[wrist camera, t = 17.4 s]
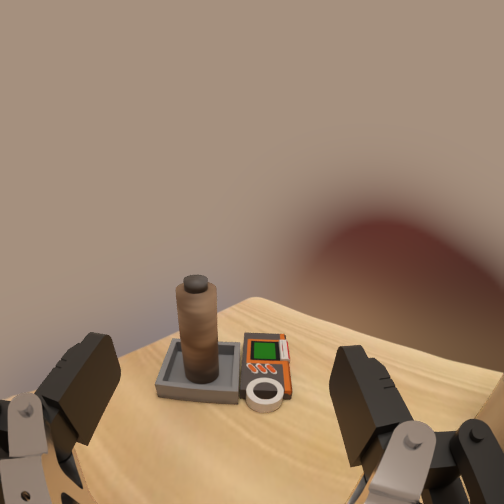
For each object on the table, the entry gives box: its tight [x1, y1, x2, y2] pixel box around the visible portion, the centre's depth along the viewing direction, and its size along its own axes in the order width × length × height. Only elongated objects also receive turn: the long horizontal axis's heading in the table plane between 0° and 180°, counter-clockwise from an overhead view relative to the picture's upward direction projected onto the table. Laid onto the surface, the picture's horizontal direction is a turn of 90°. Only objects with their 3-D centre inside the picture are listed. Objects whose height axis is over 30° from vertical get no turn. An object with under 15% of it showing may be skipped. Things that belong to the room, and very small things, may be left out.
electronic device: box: [240, 333, 292, 413], centre depth 36 cm, size 7×3×15 cm
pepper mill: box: [176, 275, 219, 384], centre depth 33 cm, size 5×5×14 cm
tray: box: [155, 338, 240, 404], centre depth 35 cm, size 10×10×2 cm
